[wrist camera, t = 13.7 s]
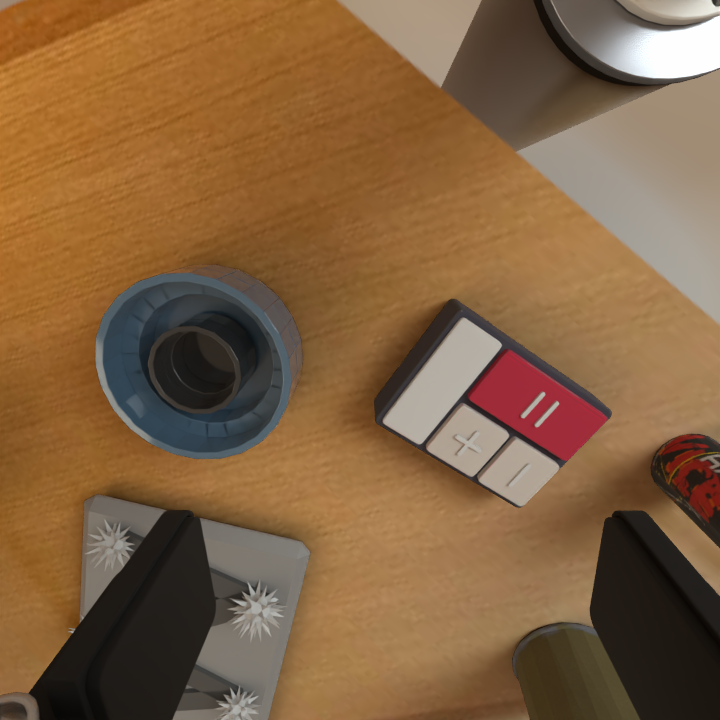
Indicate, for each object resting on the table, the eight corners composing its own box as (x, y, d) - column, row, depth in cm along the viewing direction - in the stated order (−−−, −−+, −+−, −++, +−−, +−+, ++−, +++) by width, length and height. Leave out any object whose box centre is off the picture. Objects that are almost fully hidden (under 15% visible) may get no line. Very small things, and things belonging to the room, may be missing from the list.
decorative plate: (264, 733, 52) (246, 810, 46) (85, 694, 52) (40, 766, 45) (314, 534, 42) (301, 596, 36) (94, 483, 42) (38, 536, 35)
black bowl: (207, 294, 35) (183, 306, 30) (274, 351, 36) (259, 370, 32) (160, 353, 37) (130, 372, 32) (224, 405, 38) (204, 430, 34)
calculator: (523, 516, 36) (372, 426, 33) (507, 484, 40) (371, 401, 37) (621, 418, 33) (463, 309, 30) (593, 393, 37) (451, 295, 34)
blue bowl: (200, 224, 34) (167, 227, 28) (338, 347, 36) (331, 370, 31) (104, 352, 37) (59, 375, 32) (235, 455, 40) (213, 491, 35)
